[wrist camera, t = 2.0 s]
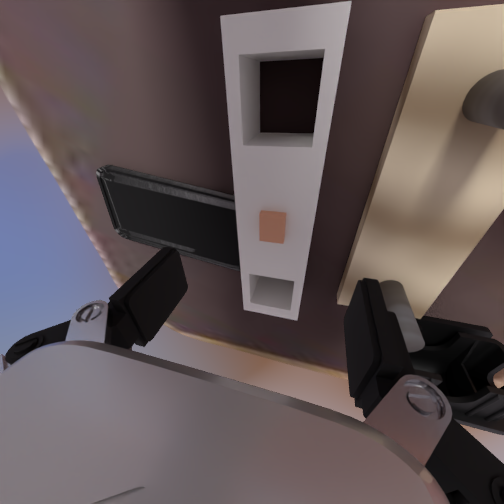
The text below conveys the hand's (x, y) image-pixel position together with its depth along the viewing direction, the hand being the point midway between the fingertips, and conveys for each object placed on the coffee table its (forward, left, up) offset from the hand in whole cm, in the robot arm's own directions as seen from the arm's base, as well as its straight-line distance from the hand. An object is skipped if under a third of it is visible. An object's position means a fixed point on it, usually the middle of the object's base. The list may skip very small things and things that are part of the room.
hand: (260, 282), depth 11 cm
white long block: (-1, 0, -8) cm, 8 cm away
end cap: (+13, +15, -9) cm, 21 cm away
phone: (+2, -10, -9) cm, 14 cm away
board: (-1, +9, -8) cm, 12 cm away
